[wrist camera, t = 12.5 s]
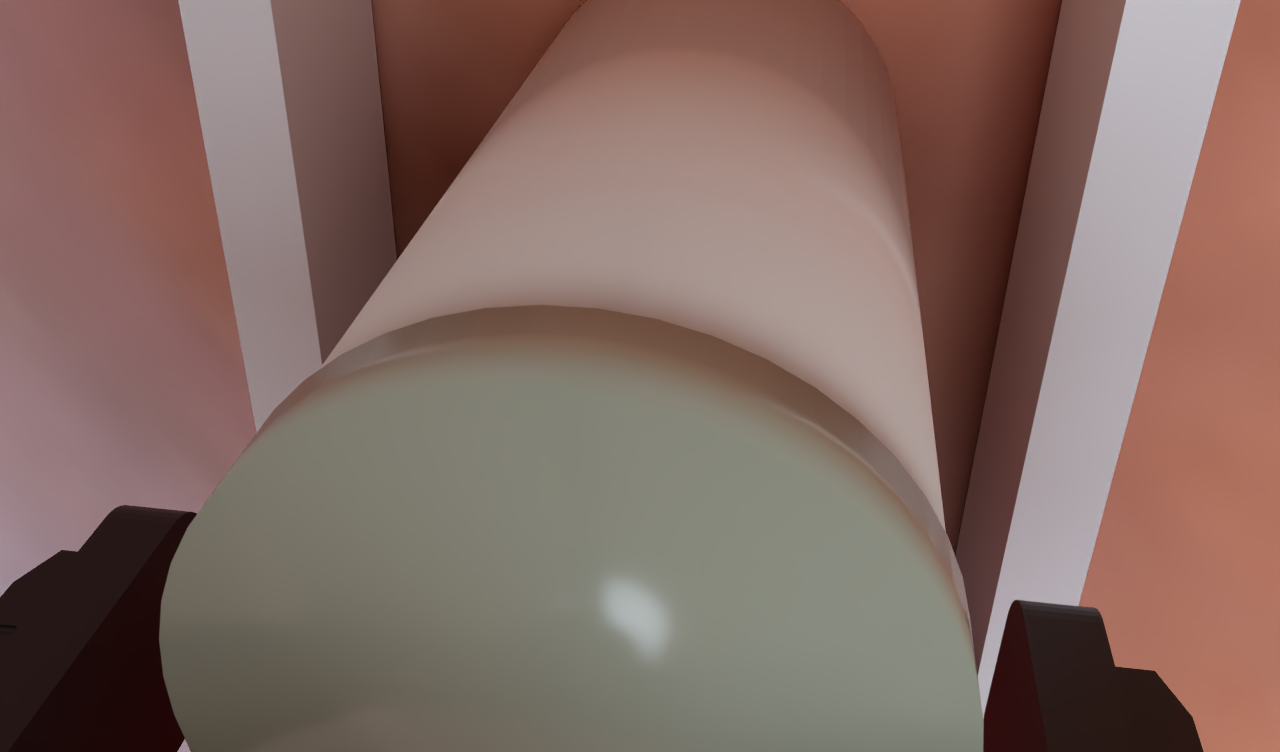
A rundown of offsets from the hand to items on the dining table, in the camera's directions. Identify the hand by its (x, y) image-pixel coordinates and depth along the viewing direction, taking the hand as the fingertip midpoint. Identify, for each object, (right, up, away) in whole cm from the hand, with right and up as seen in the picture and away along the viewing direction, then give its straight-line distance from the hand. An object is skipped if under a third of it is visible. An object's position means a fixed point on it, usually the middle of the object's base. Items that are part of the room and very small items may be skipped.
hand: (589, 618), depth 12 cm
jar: (+2, +6, +7) cm, 9 cm away
